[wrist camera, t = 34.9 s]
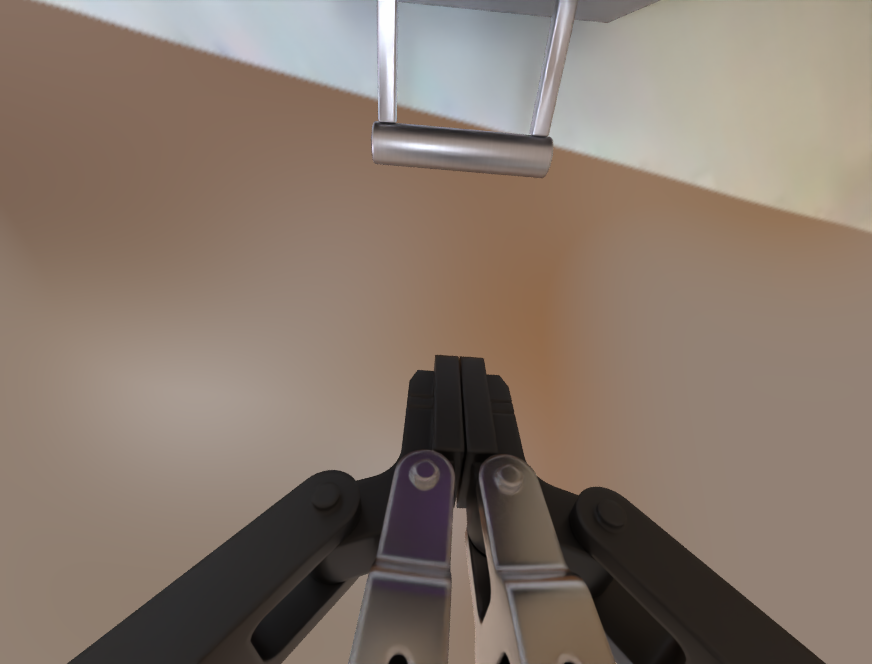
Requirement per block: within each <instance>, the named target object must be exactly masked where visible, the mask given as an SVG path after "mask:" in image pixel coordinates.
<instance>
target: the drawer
mask: <svg viewBox="0 0 872 664" xmlns="http://www.w3.org/2000/svg"><path fill="white" fill-rule="evenodd" d="M658 1H660V0H377V47H378V120H379V121H376V122H374V124H373V127H372V137H371V146H372V147H371V148H372V158H373V161H374V163H375V164H383V165H394V166H406V167H418V168H430V169H441V170H453V171H466V172H476V173H489V174H501V175H512V176H524V177H535V178H543V177H545V176H546V174H547V172H548V170H549V167H550V164H551V161H552V156H553V140H552V138H551V137H547V136H548V135H549V131H550V127H551V122H552V118H553V113H554V109H555V104H556V100H557V95H558V91H559V86H560V82H561V77H562V73H563V68H564V64H565V59H566V55H567V50H568V45H569V41H570V36H571V32H572V27H573V23H574V20H583V21H593V22H603V23H609V22H611V21H613V20H616V19H618V18H620V17H623V16H625V15H627V14H630V13H632V12H634V11H637V10H639V9H641V8H644V7H646V6H648V5H651V4H653V3H655V2H658ZM398 2H406V3H416V4H425V5H435V6H445V7H455V8H465V9H475V10H485V11H495V12H504V13H514V14H524V15H534V16H544V17H552V20H551V25H550V30H549V35H548V40H547V45H546V51H545V56H544V61H543V66H542V71H541V76H540V81H539V87H538V92H537V97H536V102H535V107H534V112H533V117H532V122H531V128H530V134H531V135H524V134H513V133H502V132H491V131H479V130H468V129H457V128H446V127H435V126H423V125H412V124H401V123H395V122H396V120H397V59H398Z"/></svg>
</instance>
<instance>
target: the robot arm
mask: <svg viewBox="0 0 872 664" xmlns="http://www.w3.org/2000/svg"><path fill="white" fill-rule="evenodd" d="M456 500H457V508H466V512H467V527H466V532H465V545H466V553H467V562H468V570H469V578H470V586H471V594H472V603H473V611H474V619H475V663H476V664H616V663H617V664H826V663H824V662H823V661H822V660H821V659H819V658H818V657H817V656H816V655H815V654H814V653H812V652H811V651H810V650H809V649H807V648H806V647H805V646H804V645H803V644H801V643H800V642H799V641H798V640H797V639H795V638H794V637H793V636H792V635H791V634H789V633H788V632H787V631H786V630H784V629H783V628H782V627H781V626H780V625H778V624H777V623H776V622H775V621H774V620H772V619H771V618H770V617H769V616H767V615H766V614H765V613H764V612H763V611H761V610H760V609H759V608H758V607H757V606H755V605H754V604H753V603H752V602H751V601H749V600H748V599H747V598H746V597H744V596H743V595H742V594H741V593H739V592H738V591H737V590H736V589H735V588H733V587H732V586H731V585H730V584H729V583H727V582H726V581H725V580H724V579H723V578H721V577H720V576H719V575H718V574H717V573H715V572H714V571H713V570H712V569H710V568H709V567H708V566H707V565H706V564H704V563H703V562H702V561H701V560H700V559H698V558H697V557H696V556H695V555H693V554H692V553H691V552H690V551H688V550H687V549H686V548H685V547H684V546H683V545H681V544H680V543H679V542H678V541H676V540H675V539H674V538H673V537H671V536H670V535H669V534H668V533H667V532H666V531H664V530H663V529H662V528H661V527H659V526H658V525H657V524H656V523H655V522H653V521H652V520H651V519H650V518H649V517H647V516H646V515H645V514H644V513H643V512H641V511H640V510H639V509H638V508H636V507H635V506H634V505H633V504H631V503H630V502H629V501H628V500H627V499H625V498H624V497H623V496H621V495H620V494H618V493H616V492H614V491H612V490H610V489H607V488H602V487H590V488H587V489H585V490H584V491H582V492H581V494H580V495H576V494H573V493H571V492H568V491H565V490H562V489H559V488H557V487H554V486H552V485H550V484H548V483H546V482H544V481H543V480H541V479H540V478H539V477H538V476H537V475H536V474H535V472H534V470H533V469H532V468H531V467H530V466H529V465H528V464H527V462H526V460H525V457H524V453H523V449H522V444H521V440H520V435H519V432H518V427H517V422H516V418H515V415H514V409H513V404H512V400H511V396H510V391H509V387H508V386H507V385H506V383H505V382H504V381H503V379H502V378H501V377H500V376H499V375H486V370H485V363H484V359H483V358H476V357H475V358H474V357H460V358H459V357H458V356H444V355H435V364H434V371H424V370H417V372H416V373H415V374H414V376H413V377H412V379H411V380H410V382H409V390H408V399H407V408H406V416H405V425H404V434H403V442H402V450H401V454H400V456H399V458H398V460H397V462H396V463H395V464H394V465H393V466H392V467H391V468H390V469H388V470H387V471H385V472H383V473H382V474H379V475H377V476H373V477H369V478H365V479H361V480H357V481H355V480H354V478H353V477H352V476H350V475H349V474H347V473H345V472H342V471H337V470H328V471H323V472H320V473H317V474H315V475H313V476H311V477H310V478H308V479H307V480H305V481H304V482H303V483H302V484H300V485H299V486H297V487H296V488H295V489H294V490H292V491H291V492H290V493H289V494H287V495H286V496H285V497H283V498H282V499H281V500H279V501H278V502H277V503H275V504H274V505H273V506H271V507H270V508H269V509H268V510H266V511H265V512H264V513H262V514H261V515H260V516H258V517H257V518H256V519H255V520H254V521H252V522H251V523H250V524H248V525H247V526H246V527H244V528H243V529H242V530H240V531H239V532H238V533H236V534H235V535H234V536H232V537H231V538H230V539H229V540H227V541H226V542H225V543H223V544H222V545H221V546H220V547H218V548H217V549H216V550H214V551H213V552H212V553H210V554H209V555H208V556H206V557H205V558H204V559H203V560H201V561H200V562H199V563H197V564H196V565H195V566H193V567H192V568H191V569H190V570H188V571H187V572H186V573H184V574H183V575H182V576H181V577H179V578H178V579H177V580H175V581H174V582H173V583H171V584H170V585H169V586H168V587H166V588H165V589H164V590H162V591H161V592H160V593H158V594H157V595H156V596H154V597H153V598H152V599H151V600H149V601H148V602H147V603H146V604H144V605H143V606H141V607H140V608H139V609H138V610H136V611H135V612H134V613H132V614H131V615H130V616H128V617H127V618H126V619H125V620H123V621H122V622H121V623H119V624H118V625H117V626H115V627H114V628H113V629H112V630H110V631H109V632H108V633H106V634H105V635H104V636H103V637H101V638H100V639H99V640H97V641H96V642H95V643H93V644H92V645H91V646H89V647H88V648H87V649H86V650H84V651H83V652H82V653H80V654H79V655H78V656H77V657H75V658H74V659H73V660H71V661H70V662H69V663H68V664H281V663H282V662H283V661H284V660H285V659H286V658H287V657H288V655H289V654H290V653H291V652H292V651H293V650H294V649H295V648H296V647H297V646H298V644H299V643H300V642H301V641H302V640H303V639H304V638H305V637H306V635H307V634H308V633H309V632H310V631H311V630H312V629H313V628H314V627H315V626H316V624H317V623H318V622H319V621H320V620H321V619H322V618H323V617H324V616H325V615H326V613H327V612H328V611H329V610H330V609H331V608H332V607H333V606H334V605H335V603H336V602H337V601H338V600H339V599H340V598H341V597H342V596H343V595H344V594H345V592H346V591H347V590H348V589H349V588H350V587H351V586H352V585H353V584H354V582H355V581H356V580H357V579H358V577H359V576H362V575H365V574H368V573H369V575H368V579H367V583H366V587H365V591H364V596H363V600H362V605H361V609H360V614H359V618H358V623H357V627H356V632H355V636H354V641H353V645H352V650H351V654H350V658H349V663H348V664H448V650H449V631H450V608H451V583H452V582H451V572H450V560H451V541H452V522H453V508H454V506H455V501H456ZM615 662H616V663H615Z"/></svg>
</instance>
